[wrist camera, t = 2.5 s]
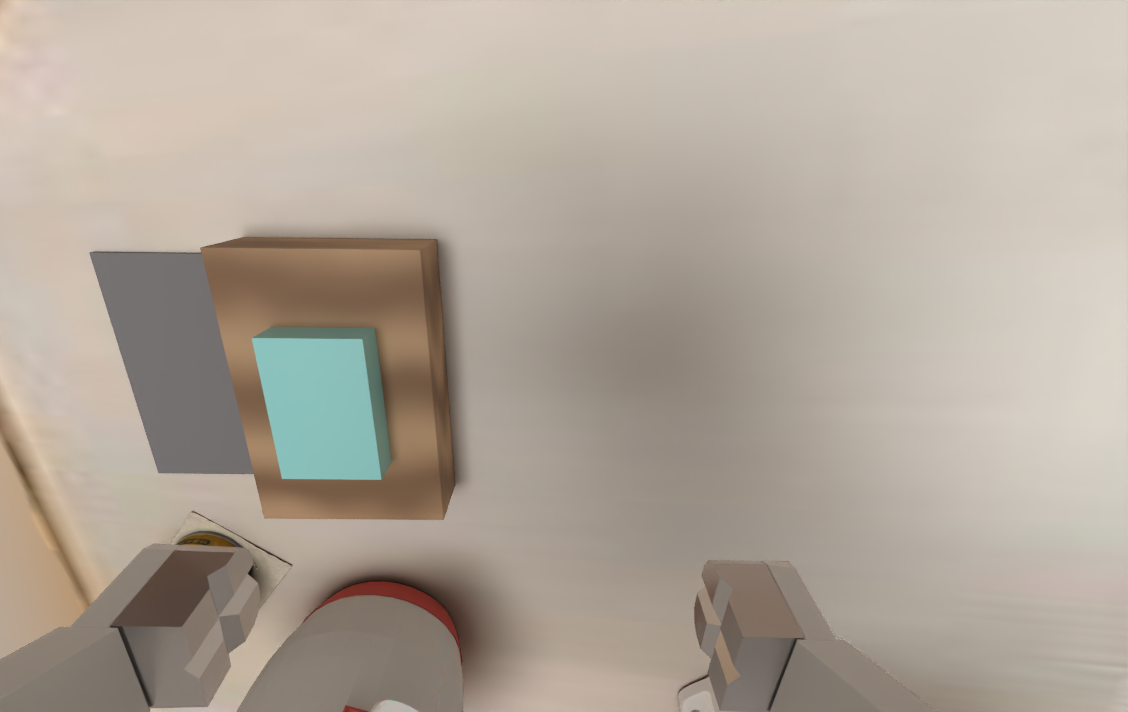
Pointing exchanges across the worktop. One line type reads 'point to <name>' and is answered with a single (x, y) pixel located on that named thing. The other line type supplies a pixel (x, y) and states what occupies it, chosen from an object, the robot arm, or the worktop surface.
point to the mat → (174, 359)
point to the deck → (348, 300)
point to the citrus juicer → (366, 657)
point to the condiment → (212, 534)
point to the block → (324, 401)
